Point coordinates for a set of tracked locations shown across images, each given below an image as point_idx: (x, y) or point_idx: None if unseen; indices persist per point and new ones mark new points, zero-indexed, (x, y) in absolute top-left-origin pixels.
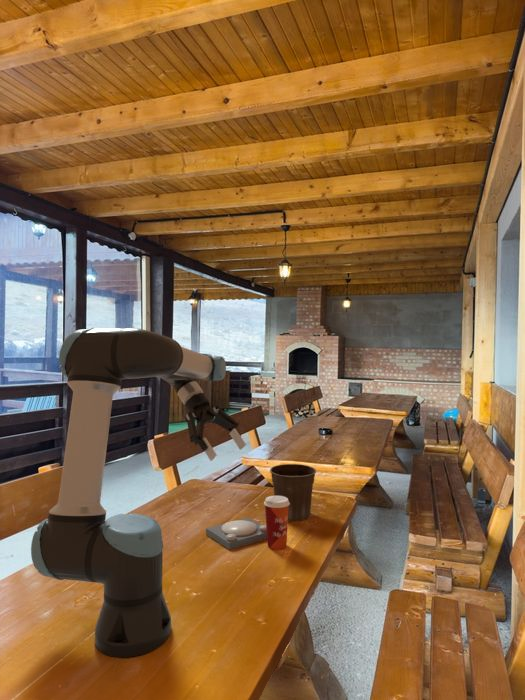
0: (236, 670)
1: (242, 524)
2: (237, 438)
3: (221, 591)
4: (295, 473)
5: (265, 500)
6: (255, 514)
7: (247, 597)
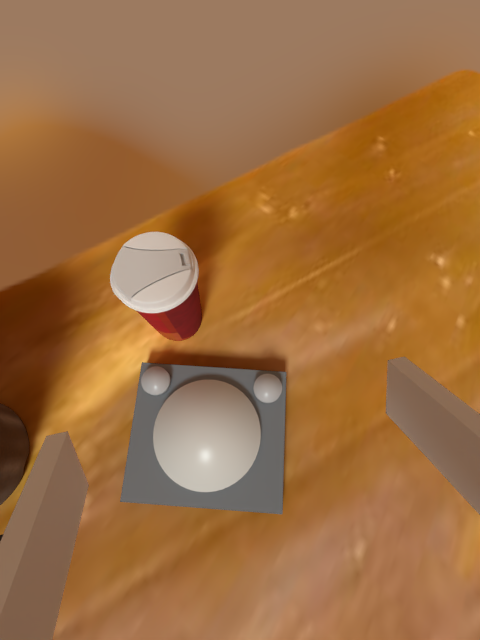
0: (461, 95)
1: (187, 442)
2: (50, 528)
3: (393, 238)
4: None
5: (186, 284)
6: None
7: (364, 198)
